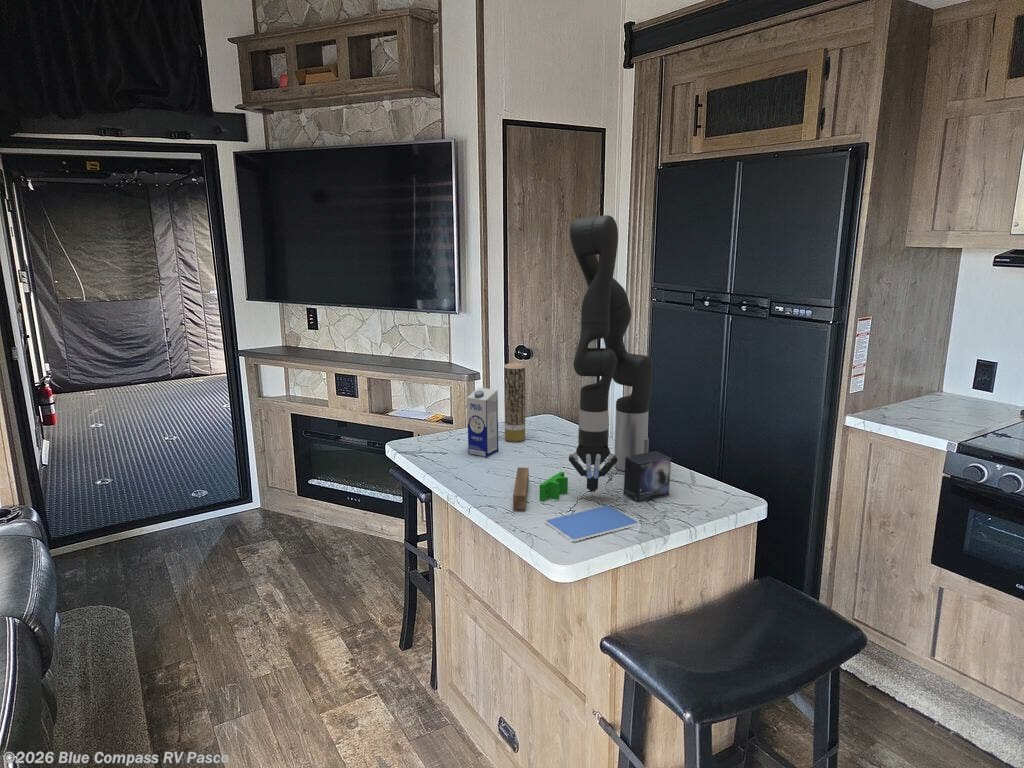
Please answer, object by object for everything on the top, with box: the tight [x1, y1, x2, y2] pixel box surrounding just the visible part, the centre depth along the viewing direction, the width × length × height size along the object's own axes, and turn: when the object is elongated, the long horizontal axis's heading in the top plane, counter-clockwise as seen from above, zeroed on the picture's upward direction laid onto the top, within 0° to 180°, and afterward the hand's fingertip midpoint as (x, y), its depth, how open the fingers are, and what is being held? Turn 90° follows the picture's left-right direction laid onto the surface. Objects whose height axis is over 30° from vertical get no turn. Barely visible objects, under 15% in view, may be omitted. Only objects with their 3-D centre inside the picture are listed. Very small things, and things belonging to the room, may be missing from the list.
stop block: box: [512, 467, 530, 512], centre depth 176 cm, size 3×20×4 cm, turn 176°
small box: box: [623, 450, 672, 503], centre depth 175 cm, size 11×6×10 cm, turn 117°
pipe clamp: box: [539, 471, 569, 502], centre depth 176 cm, size 11×4×5 cm, turn 147°
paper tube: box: [503, 362, 526, 443], centre depth 220 cm, size 7×7×25 cm
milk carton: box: [466, 386, 499, 458], centre depth 208 cm, size 7×7×20 cm
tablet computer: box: [544, 505, 640, 541], centre depth 159 cm, size 19×13×1 cm, turn 119°
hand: (592, 490), depth 175 cm, fingers closed
